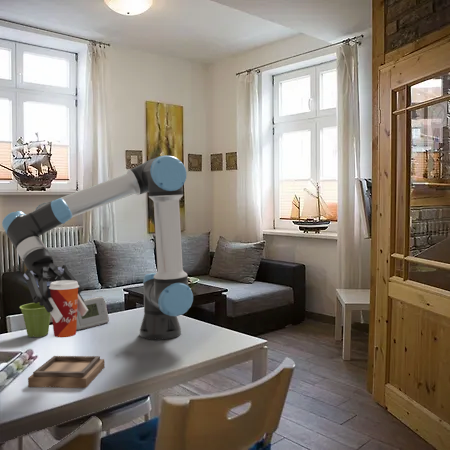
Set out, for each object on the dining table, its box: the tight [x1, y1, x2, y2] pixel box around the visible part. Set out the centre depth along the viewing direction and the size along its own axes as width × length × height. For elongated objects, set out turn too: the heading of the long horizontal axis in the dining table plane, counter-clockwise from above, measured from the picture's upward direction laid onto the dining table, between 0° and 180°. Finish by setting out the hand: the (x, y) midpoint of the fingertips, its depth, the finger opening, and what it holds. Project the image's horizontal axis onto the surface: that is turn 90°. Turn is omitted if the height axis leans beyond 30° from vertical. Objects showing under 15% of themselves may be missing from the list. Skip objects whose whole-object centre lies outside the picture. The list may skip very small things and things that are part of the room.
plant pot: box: [19, 302, 51, 338], centre depth 185 cm, size 12×12×11 cm
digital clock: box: [76, 296, 110, 331], centre depth 198 cm, size 16×9×11 cm, turn 131°
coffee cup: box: [48, 280, 79, 338], centre depth 140 cm, size 8×8×15 cm
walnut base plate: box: [27, 355, 105, 389], centre depth 141 cm, size 16×16×4 cm
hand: (72, 316), depth 138 cm, fingers closed on coffee cup, 8 cm apart
